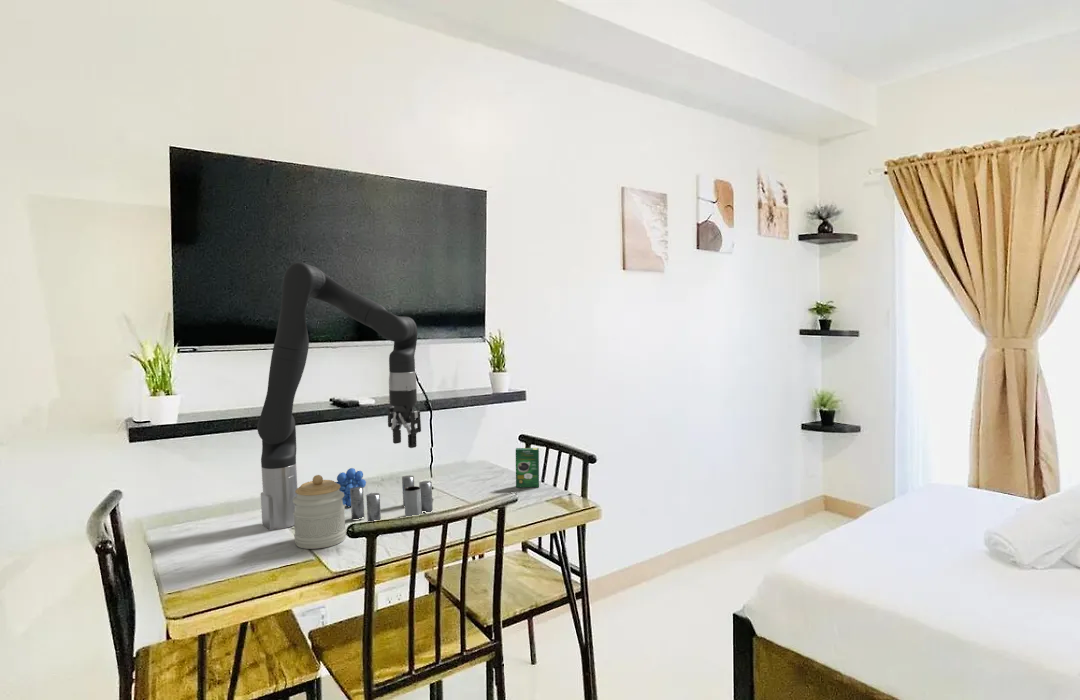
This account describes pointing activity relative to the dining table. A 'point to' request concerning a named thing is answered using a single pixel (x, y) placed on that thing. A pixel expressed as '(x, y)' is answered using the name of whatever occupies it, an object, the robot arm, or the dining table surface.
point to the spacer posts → (374, 499)
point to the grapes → (350, 483)
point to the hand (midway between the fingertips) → (404, 445)
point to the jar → (319, 514)
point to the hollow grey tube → (412, 501)
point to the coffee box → (527, 467)
